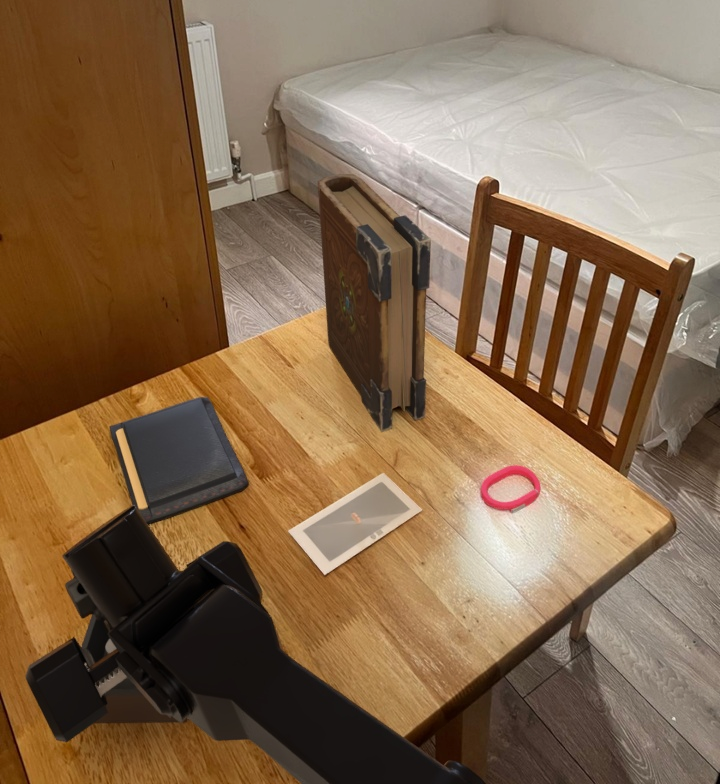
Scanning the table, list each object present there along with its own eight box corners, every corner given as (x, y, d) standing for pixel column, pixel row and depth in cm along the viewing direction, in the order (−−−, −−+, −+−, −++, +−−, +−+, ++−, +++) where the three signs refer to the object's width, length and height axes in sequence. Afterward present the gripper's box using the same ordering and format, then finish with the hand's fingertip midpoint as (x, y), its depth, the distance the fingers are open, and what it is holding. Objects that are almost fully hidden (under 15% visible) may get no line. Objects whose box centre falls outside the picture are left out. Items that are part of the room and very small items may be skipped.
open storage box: (186, 722, 72) (177, 694, 69) (79, 723, 72) (65, 695, 69) (205, 621, 81) (198, 592, 78) (109, 623, 81) (98, 594, 78)
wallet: (249, 479, 95) (131, 520, 90) (250, 489, 96) (134, 530, 91) (209, 387, 110) (106, 418, 105) (211, 396, 111) (109, 427, 106)
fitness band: (500, 521, 91) (501, 513, 90) (471, 489, 95) (472, 482, 94) (549, 494, 94) (550, 486, 94) (519, 465, 99) (520, 457, 98)
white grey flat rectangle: (288, 536, 90) (287, 525, 89) (383, 478, 97) (383, 466, 96) (325, 580, 85) (324, 569, 84) (422, 515, 92) (422, 504, 91)
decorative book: (424, 417, 106) (431, 239, 89) (380, 432, 104) (378, 252, 87) (360, 329, 124) (355, 166, 107) (321, 340, 122) (309, 176, 105)
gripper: (228, 482, 59) (184, 493, 73) (-7, 622, 50) (-7, 605, 63) (292, 605, 59) (236, 594, 72) (67, 770, 49) (51, 721, 63)
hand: (135, 623), depth 68 cm, fingers open, 9 cm apart
